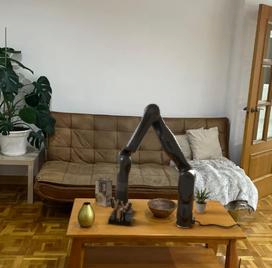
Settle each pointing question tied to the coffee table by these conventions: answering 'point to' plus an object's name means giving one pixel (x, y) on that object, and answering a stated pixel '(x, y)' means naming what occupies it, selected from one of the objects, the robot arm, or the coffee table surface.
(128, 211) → the button block
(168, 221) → the coffee table surface
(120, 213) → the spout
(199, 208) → the house plant
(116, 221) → the spout base
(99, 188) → the coffee box
